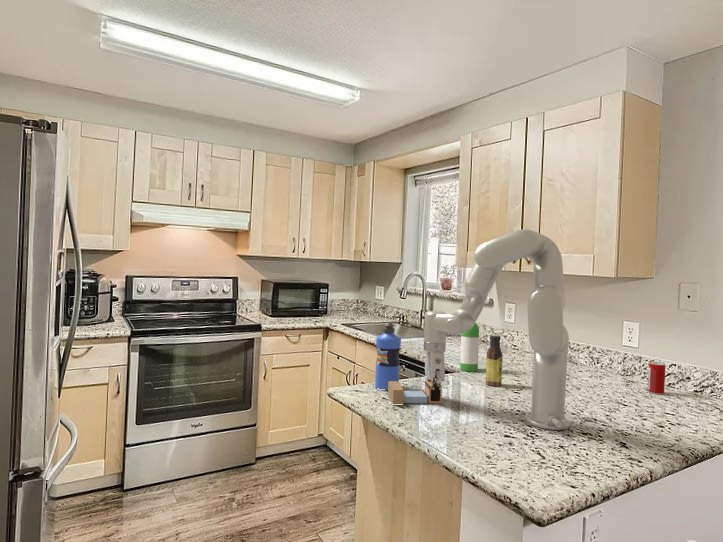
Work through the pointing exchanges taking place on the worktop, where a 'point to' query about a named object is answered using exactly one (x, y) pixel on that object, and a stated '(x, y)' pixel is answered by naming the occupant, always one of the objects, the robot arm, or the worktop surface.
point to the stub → (428, 391)
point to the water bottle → (387, 357)
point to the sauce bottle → (494, 362)
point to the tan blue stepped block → (405, 394)
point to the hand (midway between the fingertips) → (432, 397)
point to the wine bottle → (470, 349)
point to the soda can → (656, 378)
